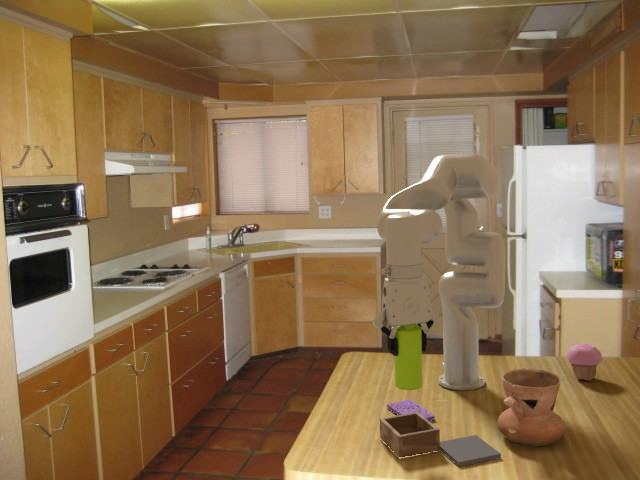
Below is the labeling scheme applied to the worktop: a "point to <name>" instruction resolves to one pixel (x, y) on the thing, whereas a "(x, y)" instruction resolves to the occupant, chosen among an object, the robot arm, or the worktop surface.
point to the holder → (409, 434)
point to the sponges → (410, 408)
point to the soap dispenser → (409, 357)
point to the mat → (468, 450)
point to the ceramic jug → (531, 407)
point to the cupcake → (584, 360)
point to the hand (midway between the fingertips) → (407, 351)
